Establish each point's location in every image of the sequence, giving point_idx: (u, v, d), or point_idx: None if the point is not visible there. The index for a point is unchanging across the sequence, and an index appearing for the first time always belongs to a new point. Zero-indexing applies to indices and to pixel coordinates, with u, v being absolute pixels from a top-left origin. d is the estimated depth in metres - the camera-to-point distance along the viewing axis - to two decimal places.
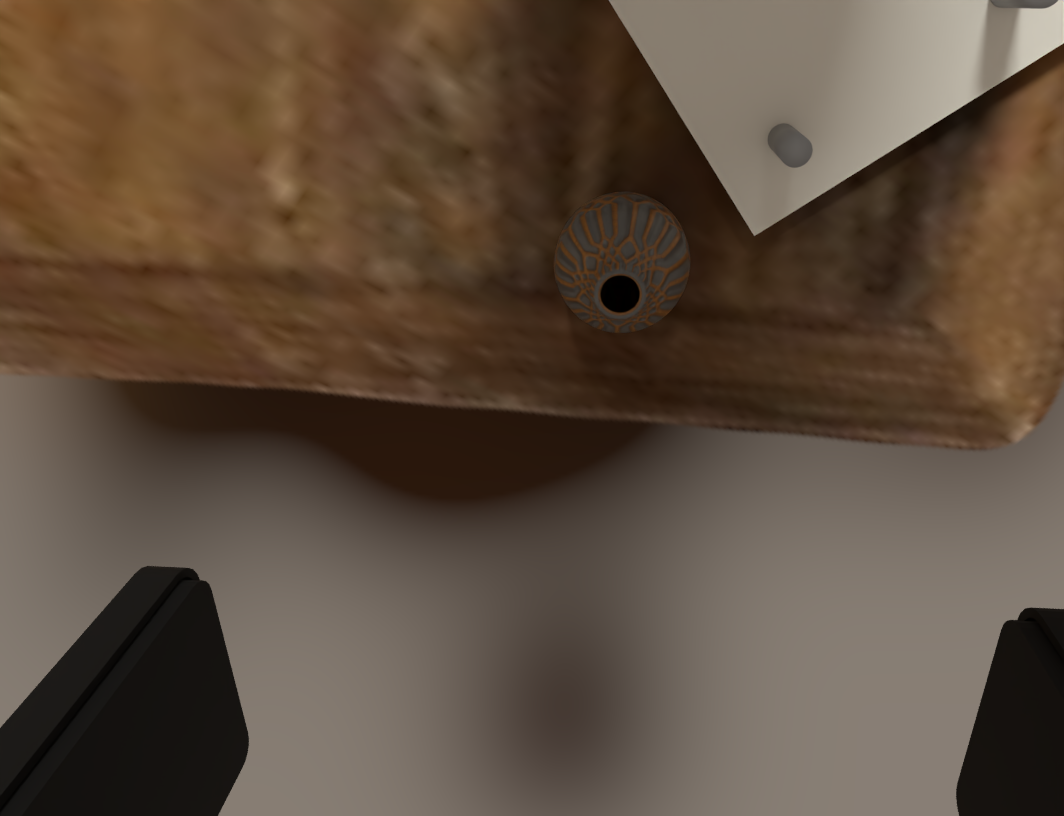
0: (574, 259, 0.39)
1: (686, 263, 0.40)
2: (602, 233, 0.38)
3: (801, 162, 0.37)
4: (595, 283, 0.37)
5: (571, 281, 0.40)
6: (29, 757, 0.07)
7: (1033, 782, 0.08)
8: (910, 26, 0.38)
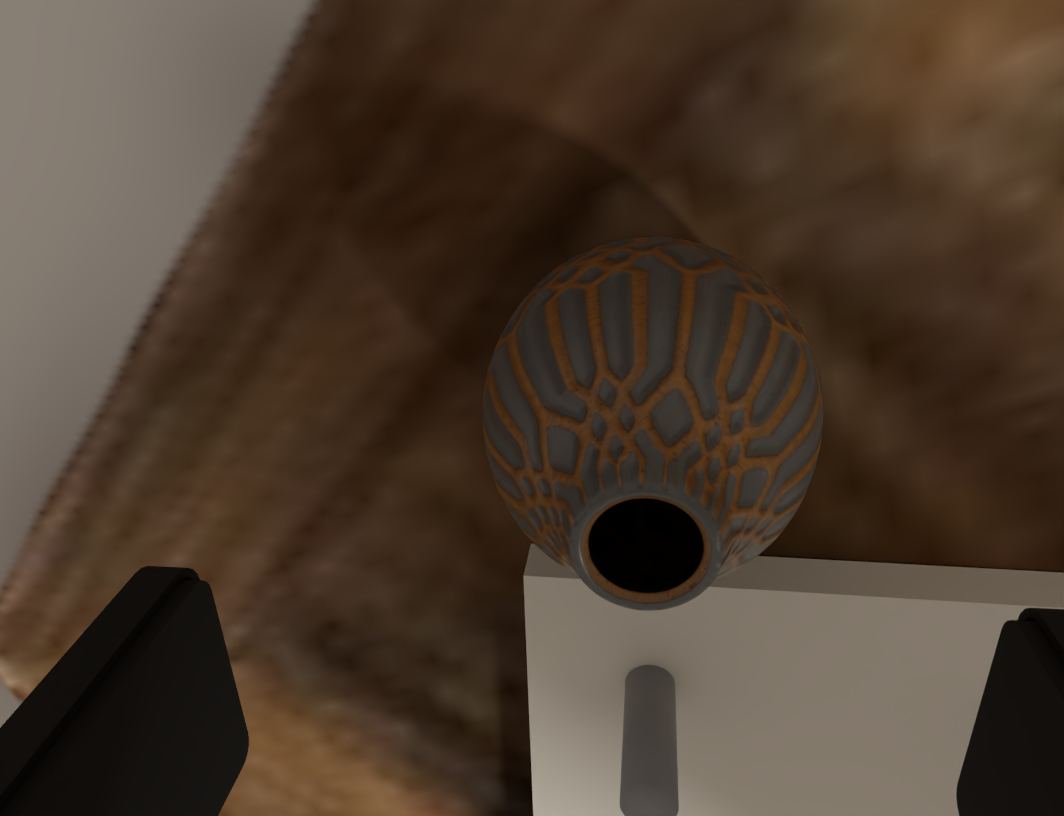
0: (774, 421, 0.14)
1: None
2: (781, 514, 0.14)
3: (626, 802, 0.20)
4: (715, 509, 0.12)
5: (728, 380, 0.14)
6: (29, 757, 0.07)
7: (1033, 782, 0.08)
8: None
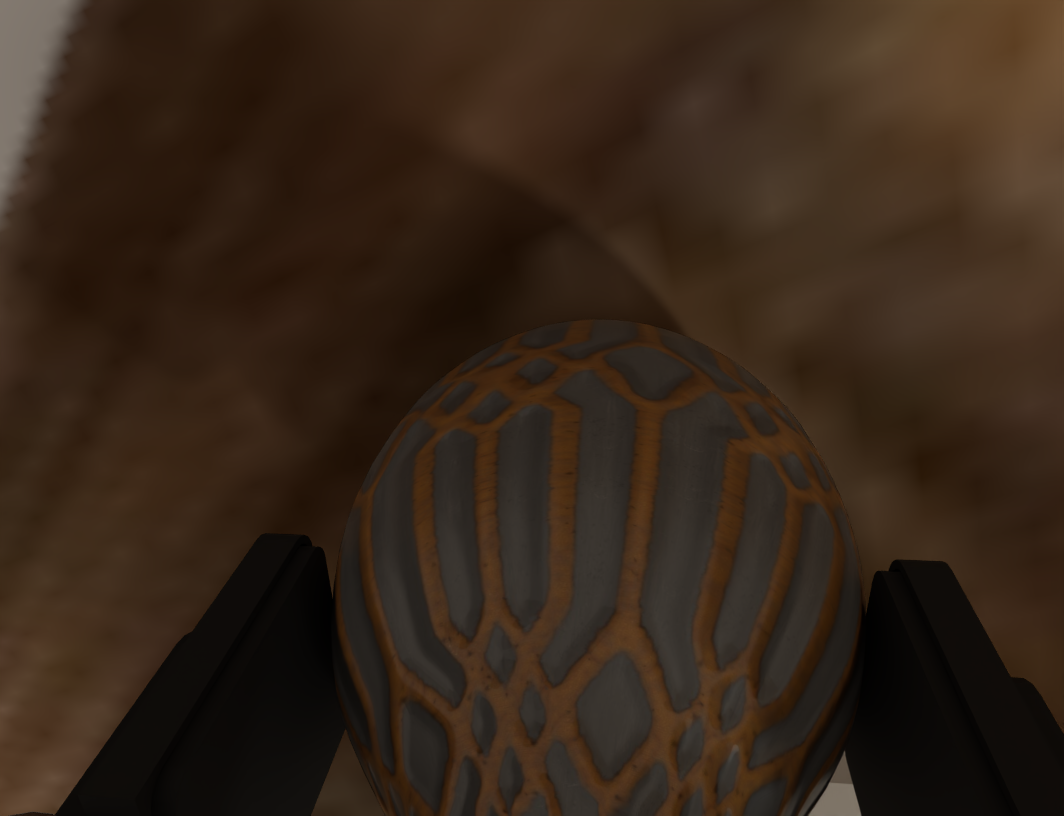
0: (797, 683, 0.08)
1: None
2: (806, 815, 0.09)
3: None
4: None
5: (717, 622, 0.08)
6: (194, 700, 0.08)
7: (891, 715, 0.09)
8: None
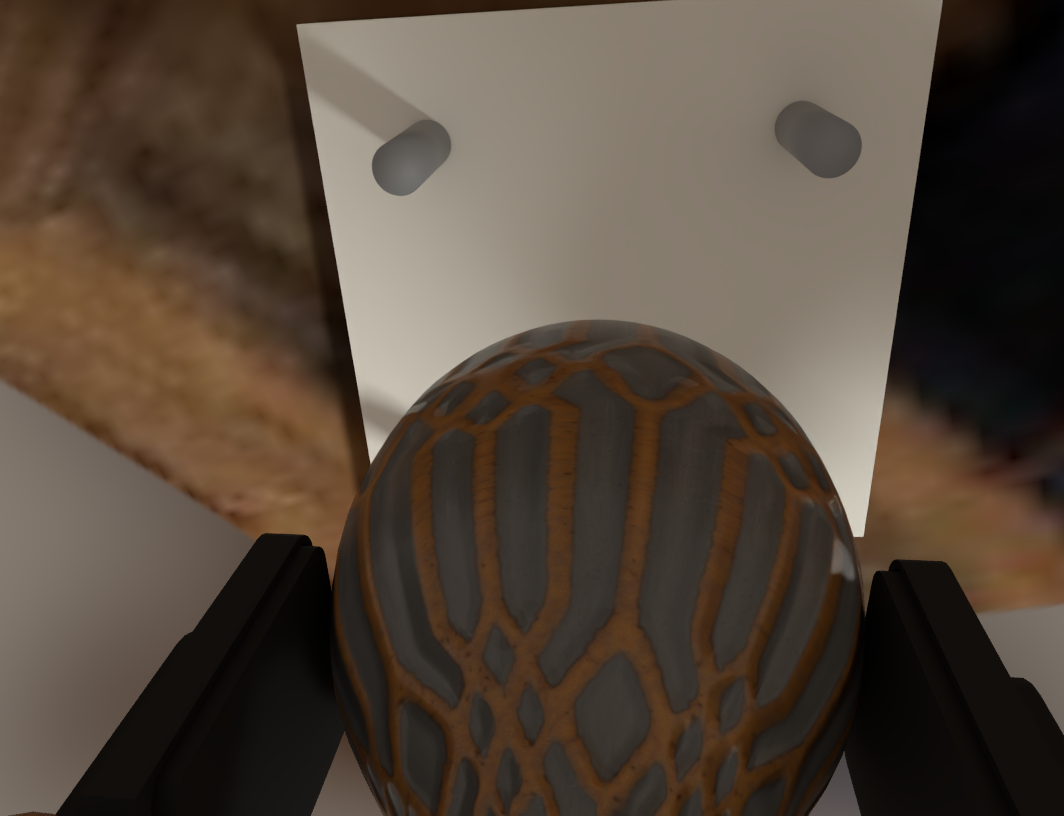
0: (795, 683, 0.08)
1: None
2: None
3: (377, 168, 0.21)
4: None
5: (717, 623, 0.08)
6: (194, 700, 0.08)
7: (890, 715, 0.09)
8: None
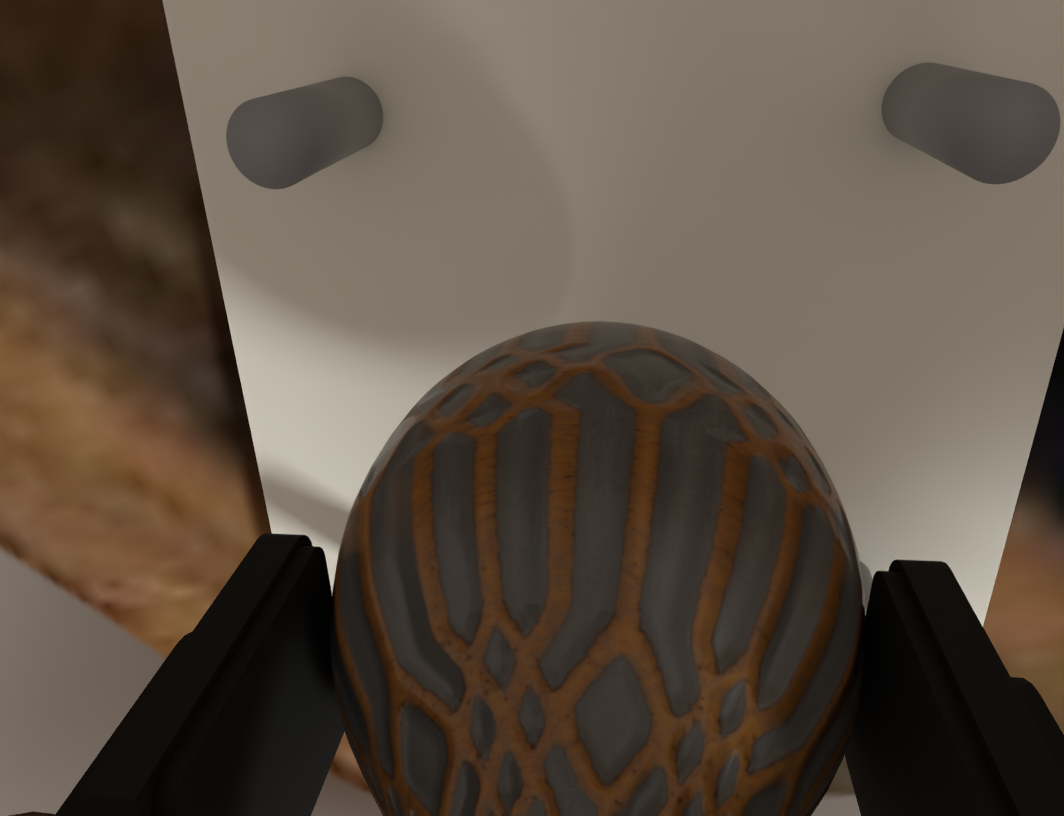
0: (796, 687, 0.08)
1: None
2: None
3: (235, 142, 0.13)
4: None
5: (717, 626, 0.08)
6: (194, 700, 0.08)
7: (890, 715, 0.09)
8: None
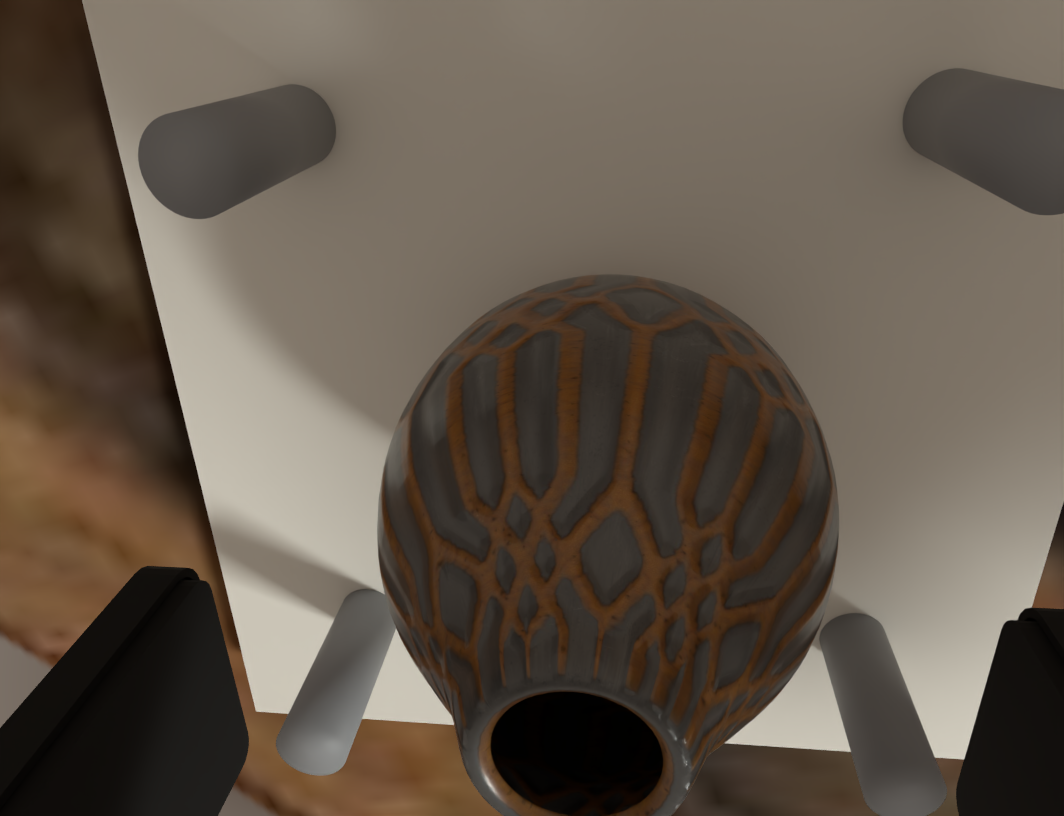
0: (768, 548, 0.09)
1: (512, 710, 0.13)
2: (784, 672, 0.10)
3: (149, 164, 0.11)
4: (677, 704, 0.08)
5: (698, 491, 0.09)
6: (29, 757, 0.07)
7: (1033, 782, 0.08)
8: None
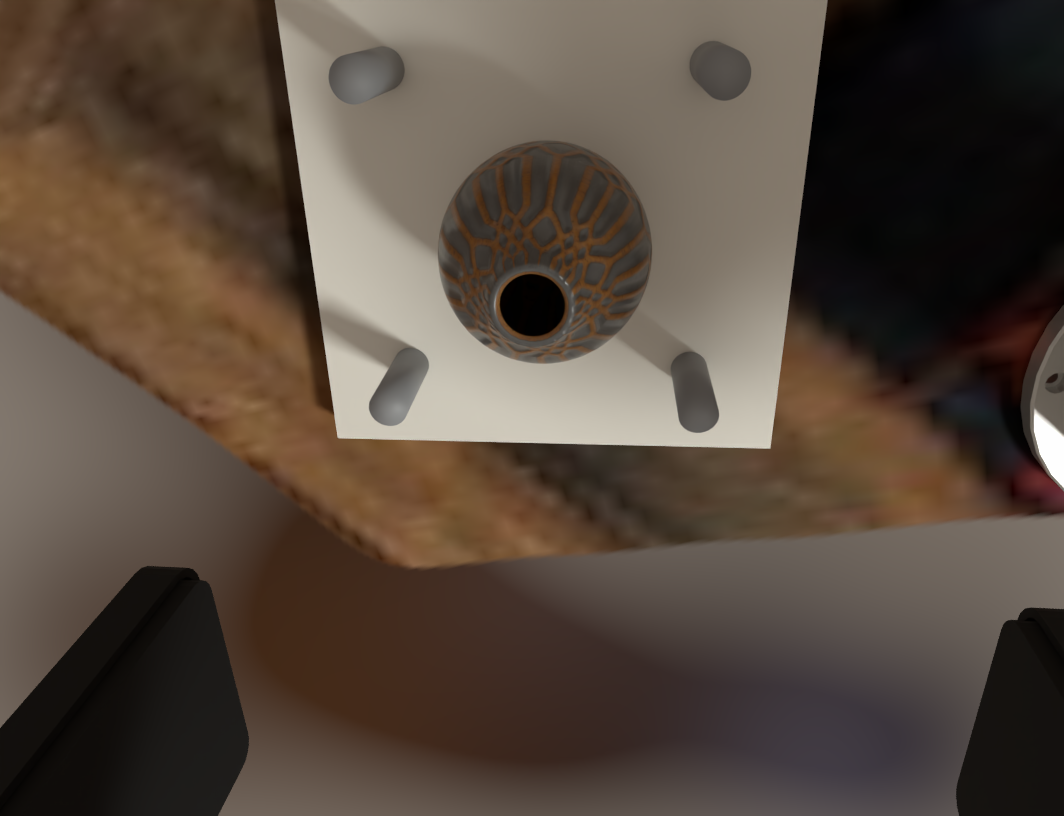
0: (608, 237, 0.23)
1: None
2: (619, 297, 0.24)
3: (333, 78, 0.25)
4: (569, 279, 0.22)
5: (579, 212, 0.23)
6: (29, 757, 0.07)
7: (1033, 782, 0.08)
8: (430, 268, 0.31)
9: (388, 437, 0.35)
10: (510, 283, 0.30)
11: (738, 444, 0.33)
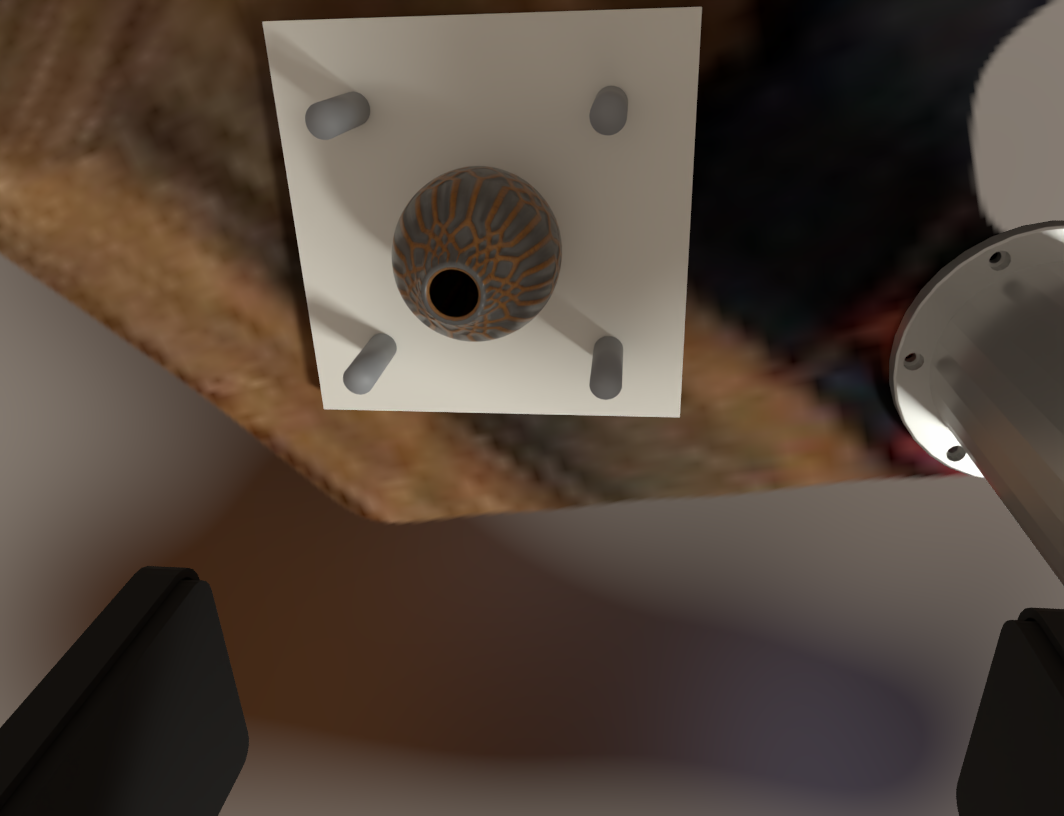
0: (516, 241, 0.30)
1: None
2: (527, 288, 0.31)
3: (309, 120, 0.32)
4: (480, 273, 0.29)
5: (492, 222, 0.30)
6: (29, 757, 0.07)
7: (1033, 782, 0.08)
8: None
9: (365, 408, 0.42)
10: (458, 279, 0.37)
11: (653, 414, 0.40)
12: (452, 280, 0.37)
